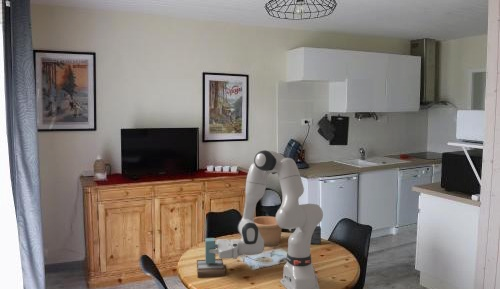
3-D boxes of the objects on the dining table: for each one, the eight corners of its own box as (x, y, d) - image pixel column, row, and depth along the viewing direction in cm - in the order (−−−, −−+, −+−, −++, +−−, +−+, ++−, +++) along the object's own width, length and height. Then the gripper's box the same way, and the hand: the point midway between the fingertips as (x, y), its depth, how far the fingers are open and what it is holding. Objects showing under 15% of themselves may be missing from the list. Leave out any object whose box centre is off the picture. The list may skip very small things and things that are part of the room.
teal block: (215, 263, 214) (215, 240, 213) (205, 263, 213) (205, 241, 212) (214, 259, 219) (214, 237, 217) (205, 260, 218) (205, 238, 217)
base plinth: (224, 275, 209) (224, 269, 209) (197, 277, 207) (197, 271, 207) (222, 263, 225) (222, 258, 225) (196, 265, 223) (196, 259, 223)
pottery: (249, 247, 251) (249, 225, 250) (250, 236, 273) (250, 215, 272) (284, 248, 250) (284, 225, 249) (282, 237, 272) (283, 216, 271)
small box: (320, 241, 264) (320, 225, 263) (321, 244, 258) (321, 228, 257) (304, 240, 265) (304, 225, 264) (304, 244, 259) (304, 228, 258)
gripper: (232, 235, 227) (207, 236, 225) (236, 248, 207) (209, 249, 205) (232, 246, 228) (207, 247, 225) (236, 260, 208) (209, 261, 205)
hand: (208, 248), depth 215 cm, fingers closed on teal block, 5 cm apart
